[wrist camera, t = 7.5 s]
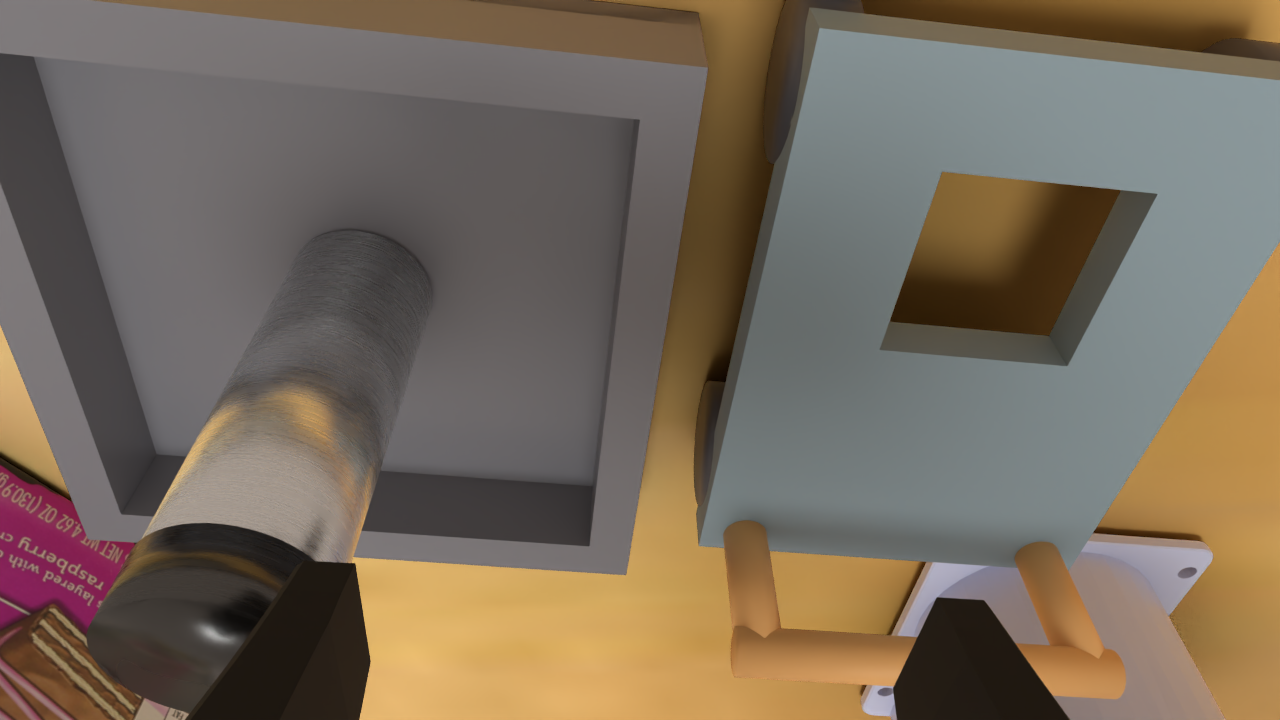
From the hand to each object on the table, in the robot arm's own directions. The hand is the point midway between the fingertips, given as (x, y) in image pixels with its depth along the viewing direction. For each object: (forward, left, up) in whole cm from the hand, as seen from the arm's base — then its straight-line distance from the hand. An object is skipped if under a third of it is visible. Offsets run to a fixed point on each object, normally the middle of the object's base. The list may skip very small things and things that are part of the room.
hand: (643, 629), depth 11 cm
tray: (-2, +6, -10) cm, 12 cm away
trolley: (0, -7, -10) cm, 12 cm away
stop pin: (-2, +6, -10) cm, 11 cm away
